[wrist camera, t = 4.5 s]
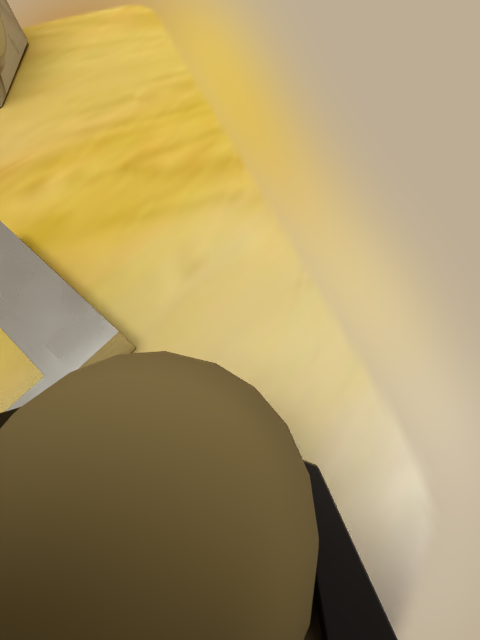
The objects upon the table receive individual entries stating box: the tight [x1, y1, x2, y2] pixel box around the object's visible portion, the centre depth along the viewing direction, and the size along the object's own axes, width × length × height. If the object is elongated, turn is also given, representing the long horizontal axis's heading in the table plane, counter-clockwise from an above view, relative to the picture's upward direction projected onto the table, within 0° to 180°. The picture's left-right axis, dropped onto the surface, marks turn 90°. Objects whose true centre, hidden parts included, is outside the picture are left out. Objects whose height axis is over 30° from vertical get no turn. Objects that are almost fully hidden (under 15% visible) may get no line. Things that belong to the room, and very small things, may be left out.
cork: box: [0, 351, 319, 640], centre depth 8 cm, size 6×6×11 cm
